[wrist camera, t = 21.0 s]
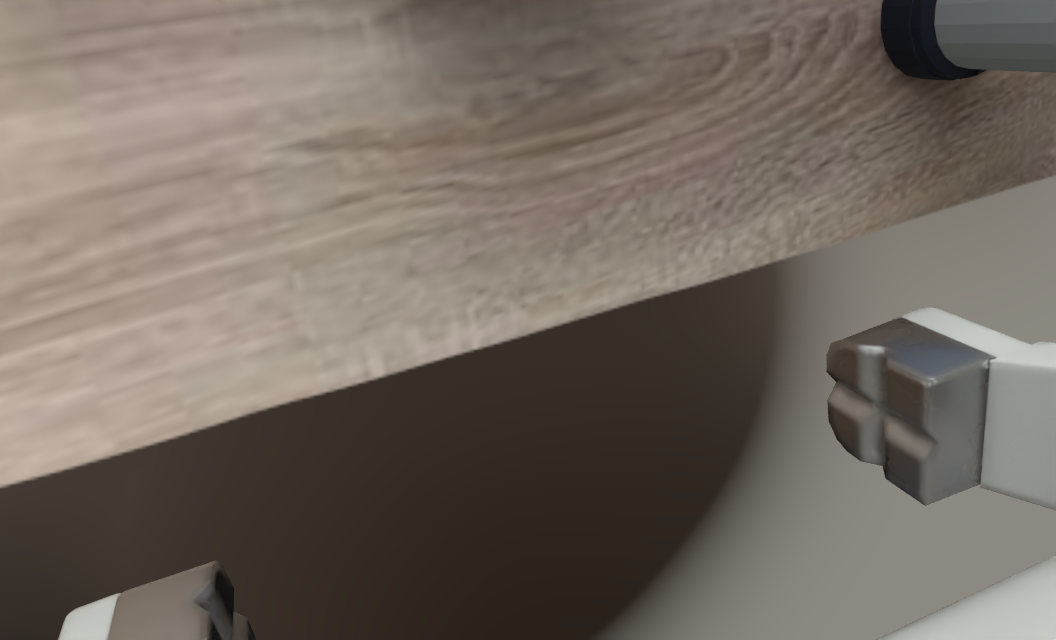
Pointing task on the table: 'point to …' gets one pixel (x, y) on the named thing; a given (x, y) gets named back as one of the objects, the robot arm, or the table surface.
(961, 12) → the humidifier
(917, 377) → the robot arm
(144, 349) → the table surface
